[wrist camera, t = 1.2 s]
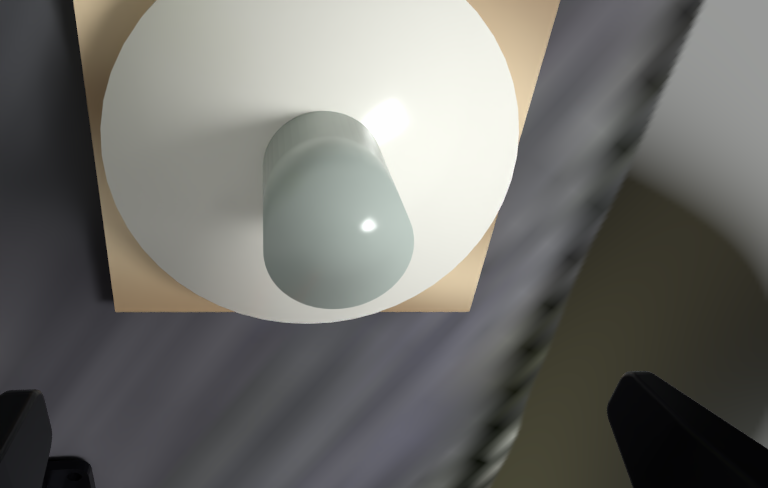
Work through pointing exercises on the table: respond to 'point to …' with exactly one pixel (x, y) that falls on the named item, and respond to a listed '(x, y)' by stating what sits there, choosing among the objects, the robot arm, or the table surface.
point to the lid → (309, 148)
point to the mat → (164, 294)
